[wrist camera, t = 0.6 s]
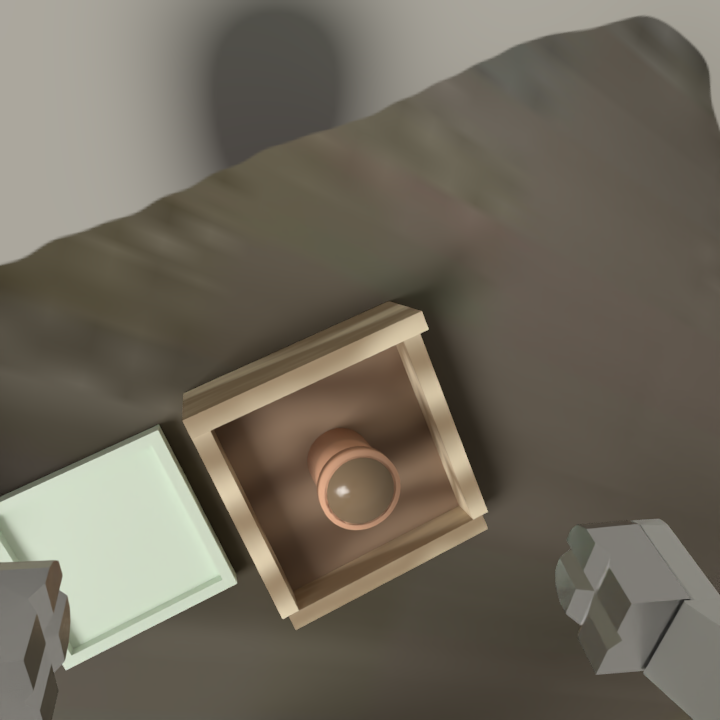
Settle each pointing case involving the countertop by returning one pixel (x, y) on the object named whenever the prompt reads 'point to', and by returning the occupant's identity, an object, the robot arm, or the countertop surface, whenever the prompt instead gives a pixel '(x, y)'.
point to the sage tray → (118, 541)
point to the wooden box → (299, 431)
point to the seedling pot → (352, 479)
